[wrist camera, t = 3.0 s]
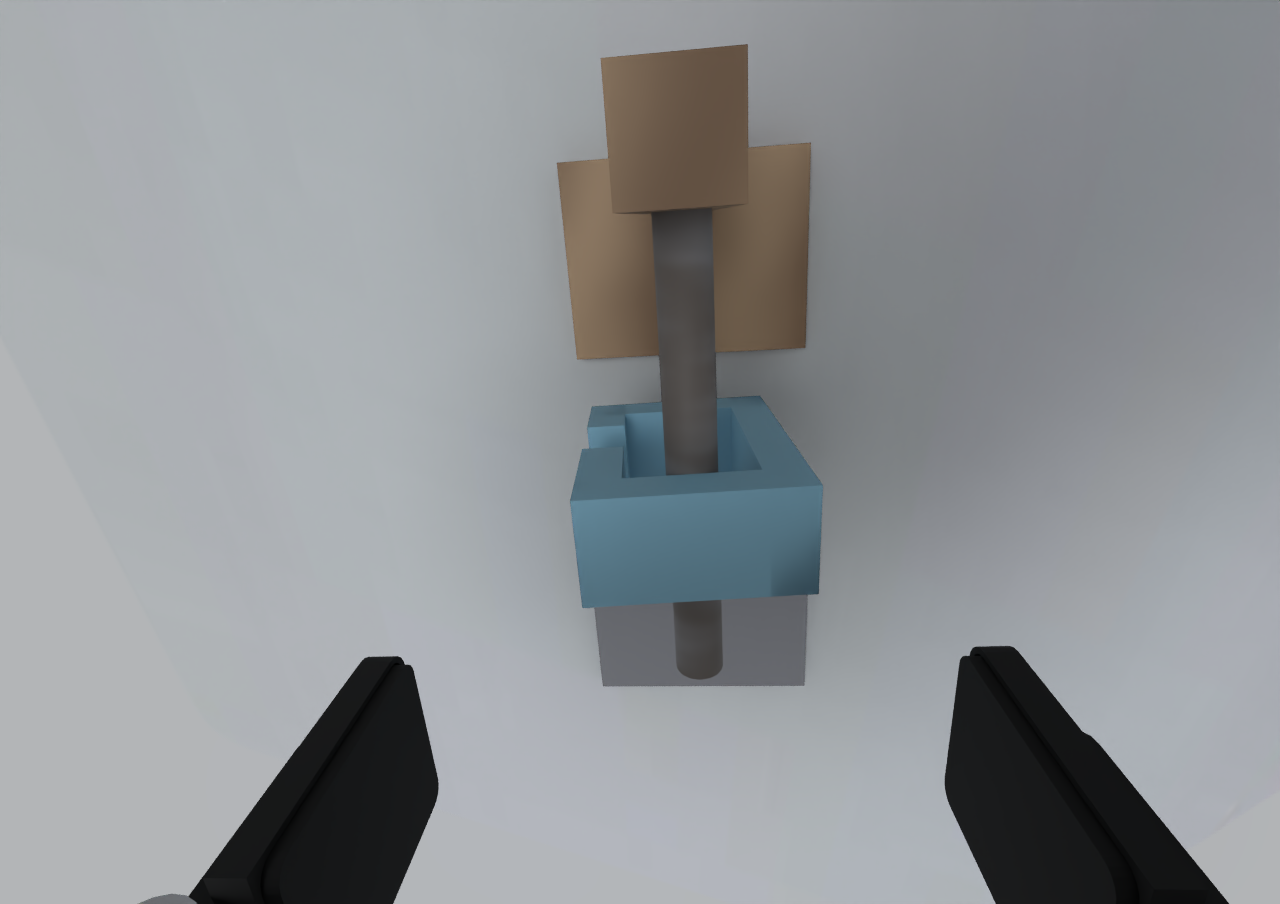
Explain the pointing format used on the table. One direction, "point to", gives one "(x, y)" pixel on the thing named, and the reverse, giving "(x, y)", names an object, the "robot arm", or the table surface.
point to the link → (694, 512)
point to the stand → (686, 254)
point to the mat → (751, 637)
